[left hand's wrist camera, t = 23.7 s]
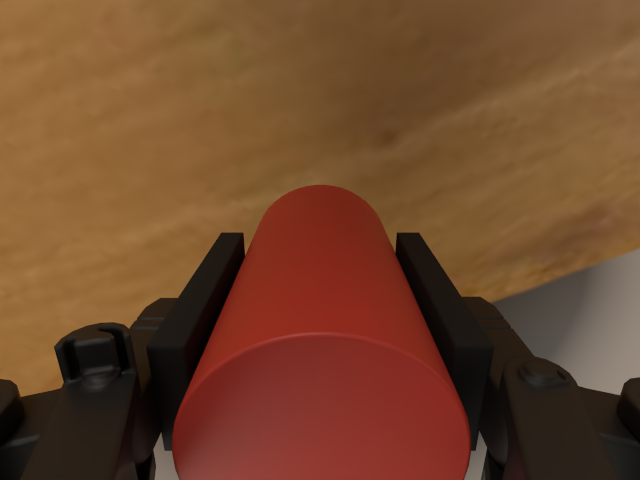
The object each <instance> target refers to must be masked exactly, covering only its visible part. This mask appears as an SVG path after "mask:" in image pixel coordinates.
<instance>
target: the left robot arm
mask: <svg viewBox="0 0 640 480" xmlns="http://www.w3.org/2000/svg"><path fill="white" fill-rule="evenodd" d="M396 256H397V259H398V261H399V263H400V265H401V268H402V270H403V272H404V274H405V276H406V279H407V281H408V283H409V285H410V288H411V290H412V292H413V294H414V297H415V299H416V301H417V303H418V306H419V308H420V310H421V312H422V315H423V317H424V319H425V321H426V324H427V326H428V328H429V330H430V333H431V335H432V337H433V339H434V342H435V344H436V346H437V348H438V351H439V353H440V355H441V357H442V360H443V362H444V364H445V366H446V369H447V371H448V373H449V375H450V378H451V380H452V382H453V384H454V386H455V389H456V391H457V393H458V395H459V398H460V400H461V402H462V405H463V407H464V410H465V412H466V415H467V418H468V421H469V427H470V432H471V451H475V450H476V445H477V440H478V434H479V431H480V433H481V435H482V437H483V439H484V442H485V444H486V446H487V452H486V457H485V462H484V467H483V472H482V477H481V480H640V378H632V379H629V380H628V381H627V382H625V383H624V386H623V389H622V392H621V395H615V394H611V393H606V392H601V391H596V390H591V389H587V388H583V387H579V386H578V385H577V383H576V381H575V380H574V379H573V377H572V376H571V375H570V373H569V372H567V371H566V370H564V369H563V368H562V367H560V366H559V365H557V364H555V363H553V362H550V361H548V360H546V359H542V358H538V357H535V356H534V355H533V354H532V353H531V351H530V350H529V349H528V348H527V346H526V345H525V344H524V343H523V341H522V340H521V339H520V337H519V336H518V335H517V334H516V332H515V331H514V330H513V329H511V326H510V325H509V324H508V322H507V321H506V320H505V319H503V316H502V315H501V313H500V312H499V311H498V310H497V308H496V307H495V306H494V305H492V304H491V303H489V302H487V301H486V300H484V299H483V298H481V297H461V295H460V294H459V292H458V291H457V289H456V288H455V286H454V285H453V283H452V282H451V280H450V279H449V277H448V276H447V274H446V273H445V271H444V270H443V268H442V267H441V265H440V264H439V262H438V261H437V259H436V258H435V256H434V255H433V253H432V252H431V250H430V249H429V247H428V246H427V244H426V243H425V241H424V240H423V238H422V237H421V235H420V234H419V233H397V240H396ZM244 258H245V250H244V236H243V233H221V234H220V236H219V237H218V239H217V240H216V242H215V243H214V245H213V246H212V248H211V249H210V251H209V252H208V254H207V255H206V257H205V258H204V260H203V261H202V263H201V264H200V266H199V267H198V269H197V270H196V272H195V273H194V275H193V276H192V278H191V279H190V281H189V282H188V284H187V285H186V287H185V288H184V290H183V291H182V293H181V294H180V296H179V297H178V298H160V299H158V300H157V301H155V302H153V303H152V304H150V305H149V306H147V307H146V308H145V309H144V310H143V312H142V313H141V314H140V315H139V317H138V318H137V321H135V322H134V323H133V324H132V326H131V327H130V329H129V328H127V327H126V326H125V325H123V324H118V323H114V322H112V323H98V324H93V325H89V326H85V327H83V328H80V329H78V330H75V331H73V332H71V333H69V334H68V335H66V336H65V337H63V338H62V339H61V340H60V341H59V342H58V343H57V344H56V345H55V346H54V348H55V352H56V356H57V359H58V363H59V366H60V370H61V373H62V377H63V381H64V384H63V386H62V388H60V389H56V390H52V391H48V392H43V393H38V394H33V395H29V396H24V397H20V394H19V391H18V388H17V385H16V384H14V383H13V382H12V381H11V380H3V379H0V480H154V479H155V470H156V464H155V457H154V452H153V449H154V446H155V444H156V442H157V440H158V438H159V435H160V433H162V438H163V444H164V449H165V451H172V434H173V428H174V422H175V419H176V416H177V413H178V411H179V408H180V405H181V403H182V401H183V398H184V396H185V394H186V391H187V389H188V387H189V385H190V382H191V380H192V378H193V375H194V373H195V371H196V368H197V366H198V364H199V361H200V359H201V357H202V355H203V352H204V350H205V348H206V345H207V343H208V341H209V338H210V336H211V334H212V332H213V329H214V327H215V325H216V322H217V320H218V318H219V315H220V313H221V311H222V309H223V306H224V304H225V302H226V299H227V297H228V295H229V292H230V290H231V288H232V286H233V283H234V281H235V279H236V276H237V274H238V272H239V269H240V267H241V265H242V263H243V260H244Z"/></svg>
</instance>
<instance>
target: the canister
mask: <svg viewBox="0 0 640 480" xmlns="http://www.w3.org/2000/svg"><path fill="white" fill-rule="evenodd" d="M172 453H173V459H174V464H175V469H176V472H177V474H178V477H179V480H464V478H465V475H466V472H467V469H468V466H469V460H470V454H471V432H470V427H469V421H468V418H467V415H466V412H465V410H464V407H463V405H462V402H461V400H460V398H459V395H458V393H457V391H456V389H455V386H454V384H453V382H452V380H451V378H450V375H449V373H448V371H447V369H446V366H445V364H444V362H443V360H442V357H441V355H440V353H439V351H438V348H437V346H436V344H435V342H434V339H433V337H432V335H431V333H430V330H429V328H428V326H427V324H426V321H425V319H424V317H423V315H422V312H421V310H420V308H419V306H418V303H417V301H416V299H415V297H414V294H413V292H412V290H411V288H410V285H409V283H408V281H407V279H406V276H405V274H404V272H403V270H402V268H401V265H400V263H399V261H398V259H397V256H396V254H395V252H394V250H393V247H392V245H391V243H390V241H389V238H388V236H387V234H386V232H385V229H384V227H383V225H382V223H381V221H380V219H379V217H378V215H377V214H376V212H375V211H374V210H373V208H372V207H371V206H370V205H369V204H368V203H367V202H366V201H364V200H363V199H362V198H360V197H359V196H358V195H356V194H354V193H352V192H350V191H348V190H345V189H343V188H339V187H335V186H328V185H313V186H306V187H303V188H299V189H296V190H294V191H291V192H289V193H287V194H286V195H284V196H282V197H281V198H280V199H278V200H277V201H276V202H275V203H274V204H273V205H272V206H271V207H270V208H269V209H268V210H267V212H266V213H265V214H264V216H263V218H262V220H261V221H260V223H259V226H258V228H257V230H256V233H255V235H254V237H253V240H252V242H251V244H250V246H249V249H248V251H247V253H246V256H245V258H244V260H243V263H242V265H241V267H240V269H239V272H238V274H237V276H236V279H235V281H234V283H233V286H232V288H231V290H230V292H229V295H228V297H227V299H226V302H225V304H224V306H223V309H222V311H221V313H220V315H219V318H218V320H217V322H216V325H215V327H214V329H213V332H212V334H211V336H210V338H209V341H208V343H207V345H206V348H205V350H204V352H203V355H202V357H201V359H200V361H199V364H198V366H197V368H196V371H195V373H194V375H193V378H192V380H191V382H190V385H189V387H188V389H187V391H186V394H185V396H184V398H183V401H182V403H181V405H180V408H179V411H178V413H177V416H176V419H175V422H174V428H173V434H172Z"/></svg>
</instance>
